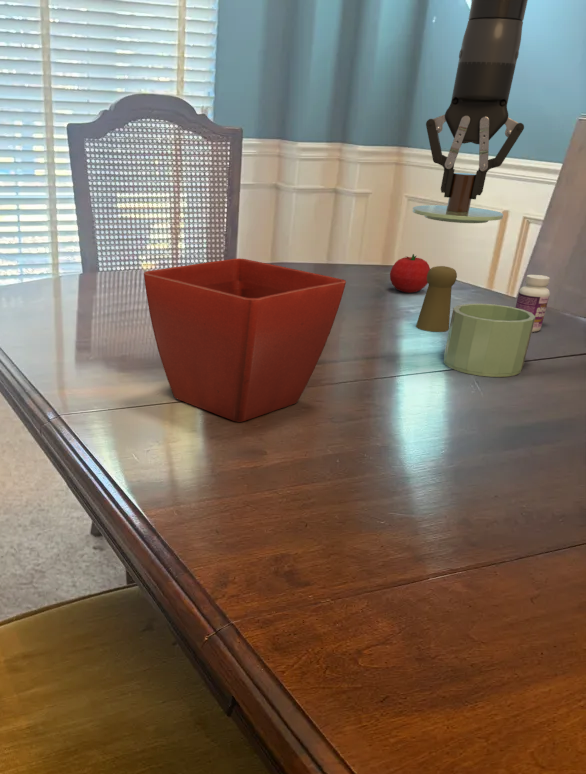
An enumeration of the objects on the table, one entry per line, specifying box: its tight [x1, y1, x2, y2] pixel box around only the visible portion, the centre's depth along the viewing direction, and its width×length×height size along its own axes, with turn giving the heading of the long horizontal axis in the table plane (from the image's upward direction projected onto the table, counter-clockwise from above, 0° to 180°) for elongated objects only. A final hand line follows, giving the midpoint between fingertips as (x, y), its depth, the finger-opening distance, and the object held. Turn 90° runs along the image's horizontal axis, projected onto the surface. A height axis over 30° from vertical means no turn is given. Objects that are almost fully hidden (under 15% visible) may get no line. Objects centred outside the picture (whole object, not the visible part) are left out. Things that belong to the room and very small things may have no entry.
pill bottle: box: [514, 274, 551, 333], centre depth 144 cm, size 5×5×10 cm
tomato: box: [389, 253, 431, 294], centre depth 171 cm, size 9×9×8 cm
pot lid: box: [411, 172, 504, 224], centre depth 114 cm, size 13×13×6 cm
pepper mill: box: [415, 265, 458, 333], centre depth 143 cm, size 6×6×11 cm
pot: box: [443, 303, 535, 378], centre depth 122 cm, size 12×12×8 cm
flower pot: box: [143, 258, 347, 423], centre depth 102 cm, size 19×19×17 cm
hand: (459, 197), depth 114 cm, fingers closed on pot lid, 3 cm apart
